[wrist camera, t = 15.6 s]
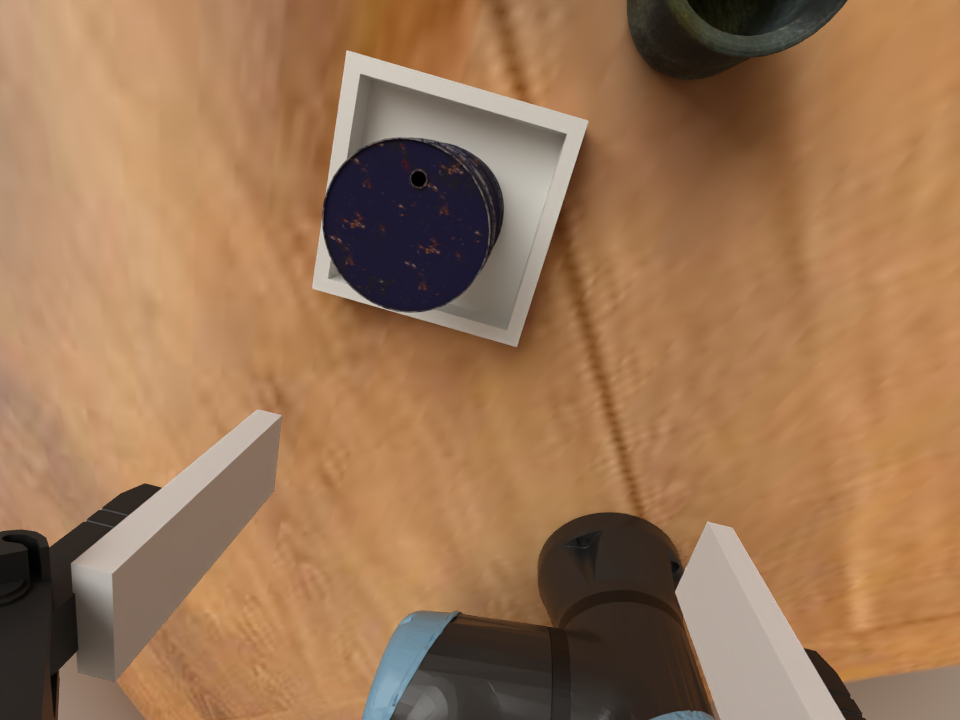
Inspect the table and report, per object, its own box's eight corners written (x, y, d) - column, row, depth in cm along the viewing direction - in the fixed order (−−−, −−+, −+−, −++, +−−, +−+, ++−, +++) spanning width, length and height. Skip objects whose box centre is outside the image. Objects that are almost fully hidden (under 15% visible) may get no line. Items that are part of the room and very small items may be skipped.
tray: (518, 332, 47) (516, 347, 43) (329, 278, 47) (312, 288, 43) (583, 124, 40) (588, 120, 37) (364, 60, 40) (346, 50, 36)
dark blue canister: (483, 283, 45) (461, 337, 31) (376, 246, 44) (305, 284, 30) (522, 167, 41) (517, 169, 27) (405, 127, 41) (340, 107, 27)
